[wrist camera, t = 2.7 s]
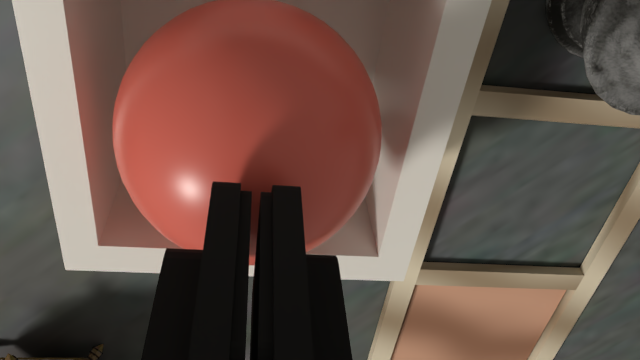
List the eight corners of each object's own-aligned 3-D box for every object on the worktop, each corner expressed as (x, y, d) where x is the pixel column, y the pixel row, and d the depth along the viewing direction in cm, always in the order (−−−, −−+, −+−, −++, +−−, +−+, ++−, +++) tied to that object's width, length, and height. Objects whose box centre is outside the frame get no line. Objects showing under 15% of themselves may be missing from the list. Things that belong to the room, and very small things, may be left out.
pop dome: (132, -52, 14) (54, 56, 9) (381, -24, 15) (441, 88, 10) (146, 158, 18) (97, 319, 13) (344, 170, 19) (373, 326, 13)
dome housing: (77, -158, 15) (-13, -121, 10) (437, -110, 16) (509, -56, 11) (111, 152, 21) (65, 270, 16) (373, 168, 22) (403, 281, 17)
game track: (538, -225, 15) (546, -225, 14) (862, -171, 16) (876, -169, 16) (359, 388, 31) (360, 396, 31) (526, 389, 33) (529, 396, 32)
